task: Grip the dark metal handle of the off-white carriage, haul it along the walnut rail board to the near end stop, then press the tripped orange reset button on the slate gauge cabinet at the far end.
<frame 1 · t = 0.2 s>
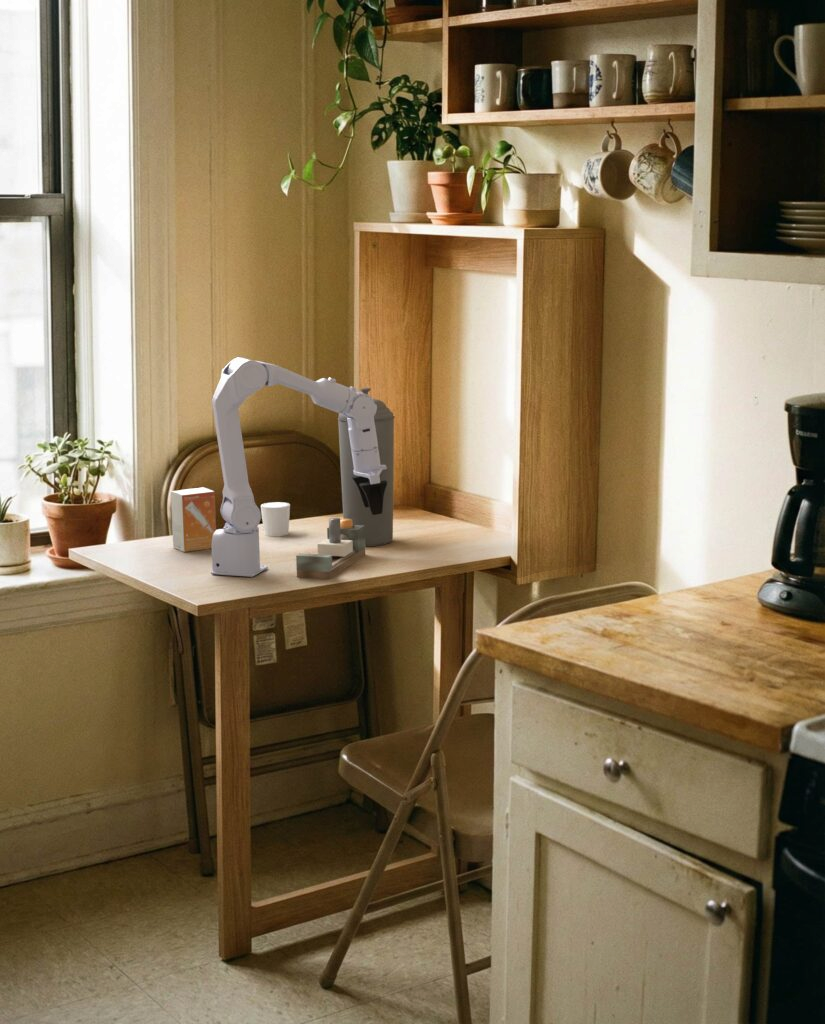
hand: (373, 510, 289), 10 cm above the table, tool pointing down, fingers open, 7 cm apart
reset button: (346, 526, 292), point 6 cm above the table, slide at 0.0 cm
rail base: (332, 565, 285), on the table
small box: (195, 548, 304), on the table
carriage: (334, 536, 286), point 6 cm above the table, slide at 2.0 cm
white tapered cylinder: (276, 534, 317), on the table
canister: (368, 542, 307), on the table
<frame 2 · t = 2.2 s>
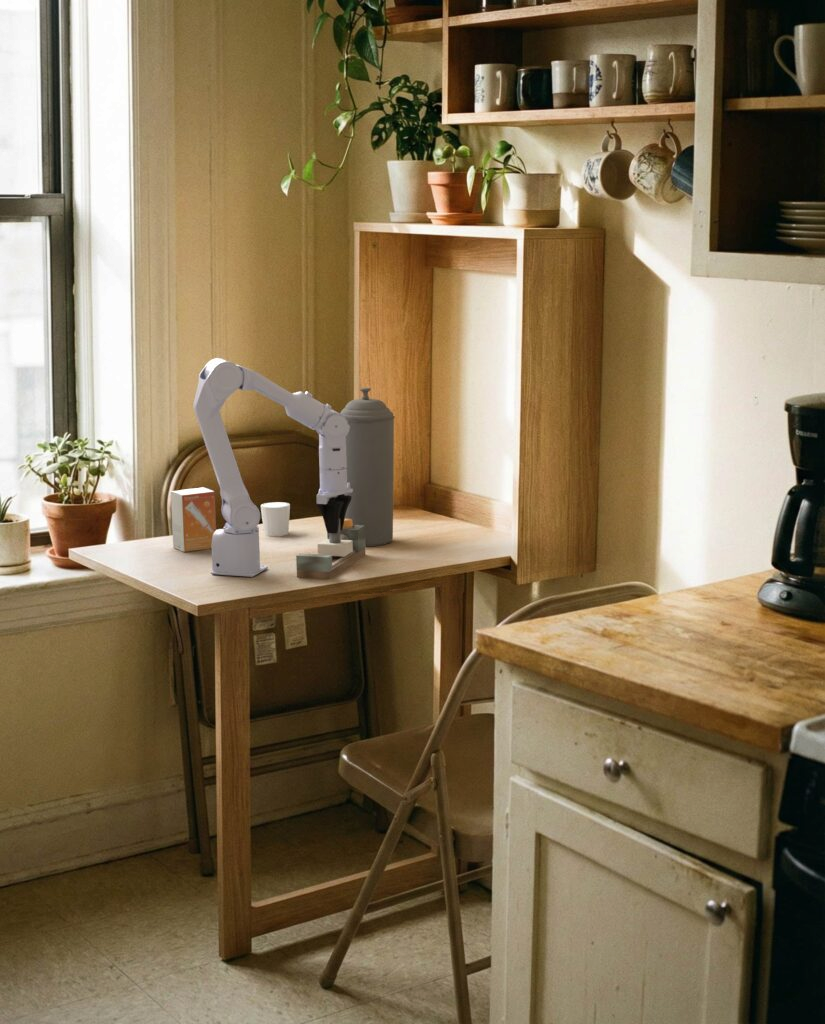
hand: (334, 531, 286), 7 cm above the table, tool pointing down, fingers closed on carriage, 2 cm apart
carriage: (334, 536, 286), point 6 cm above the table, slide at 2.0 cm, touching gripper
everything else where it was.
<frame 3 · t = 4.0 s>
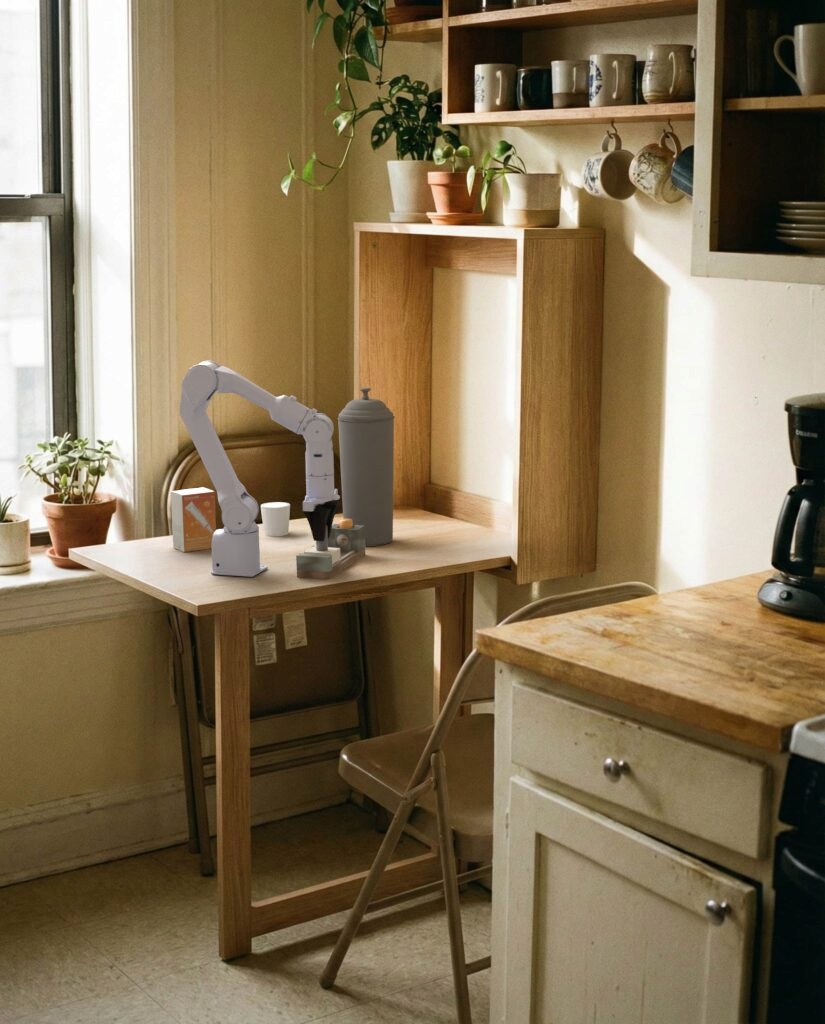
hand: (321, 539, 279), 7 cm above the table, tool pointing down, fingers closed on carriage, 2 cm apart
carriage: (322, 543, 279), point 6 cm above the table, slide at -5.5 cm, touching gripper
everything else where it was.
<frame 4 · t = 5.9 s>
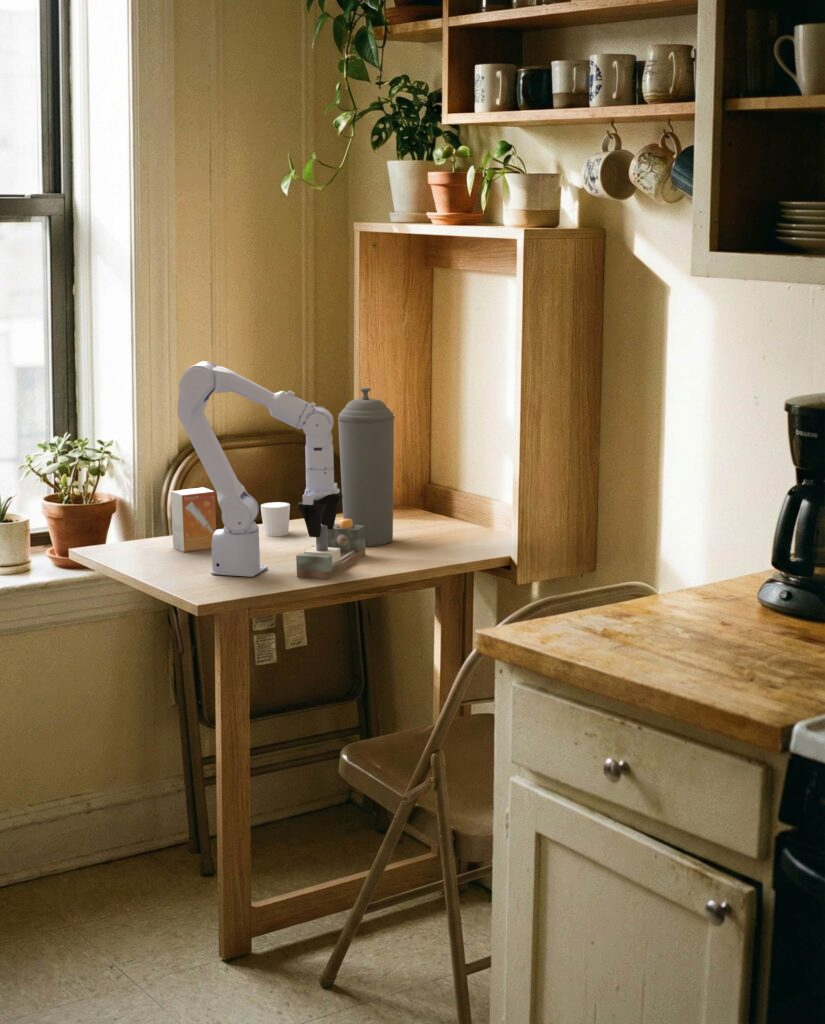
hand: (321, 532, 279), 8 cm above the table, tool pointing down, fingers open, 7 cm apart
carriage: (322, 543, 279), point 6 cm above the table, slide at -5.5 cm
everything else where it was.
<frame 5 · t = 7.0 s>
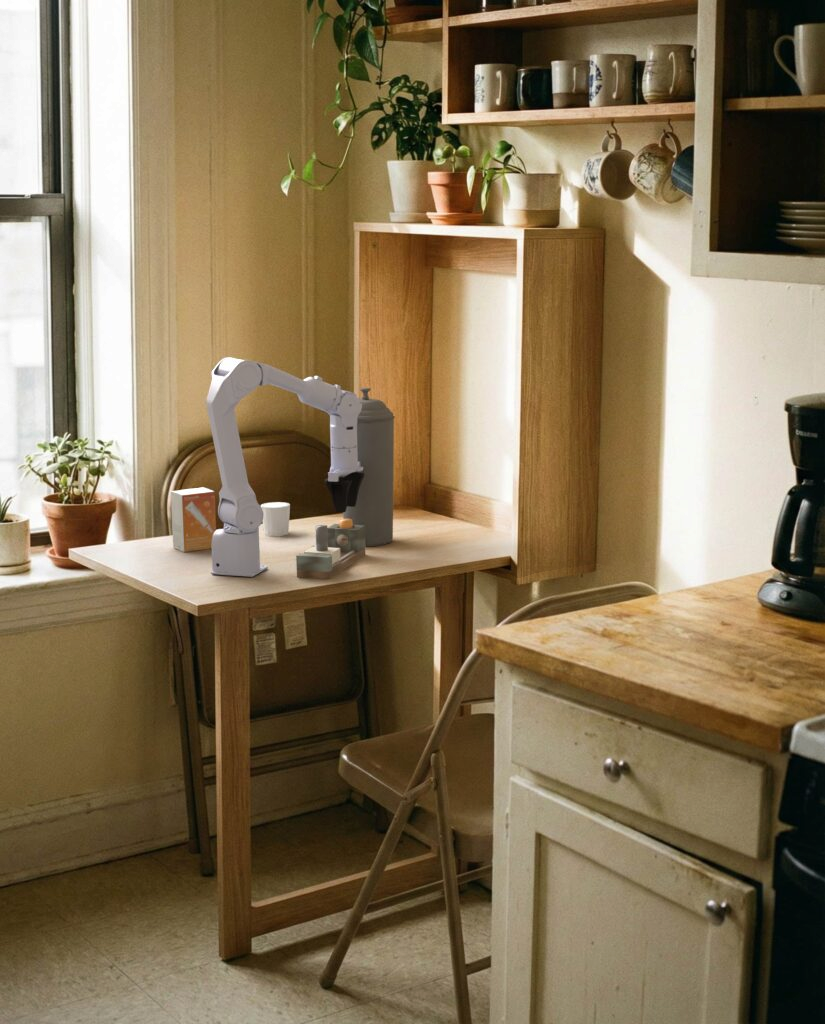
hand: (345, 509, 292), 10 cm above the table, tool pointing down, fingers open, 5 cm apart
nothing on the table moved.
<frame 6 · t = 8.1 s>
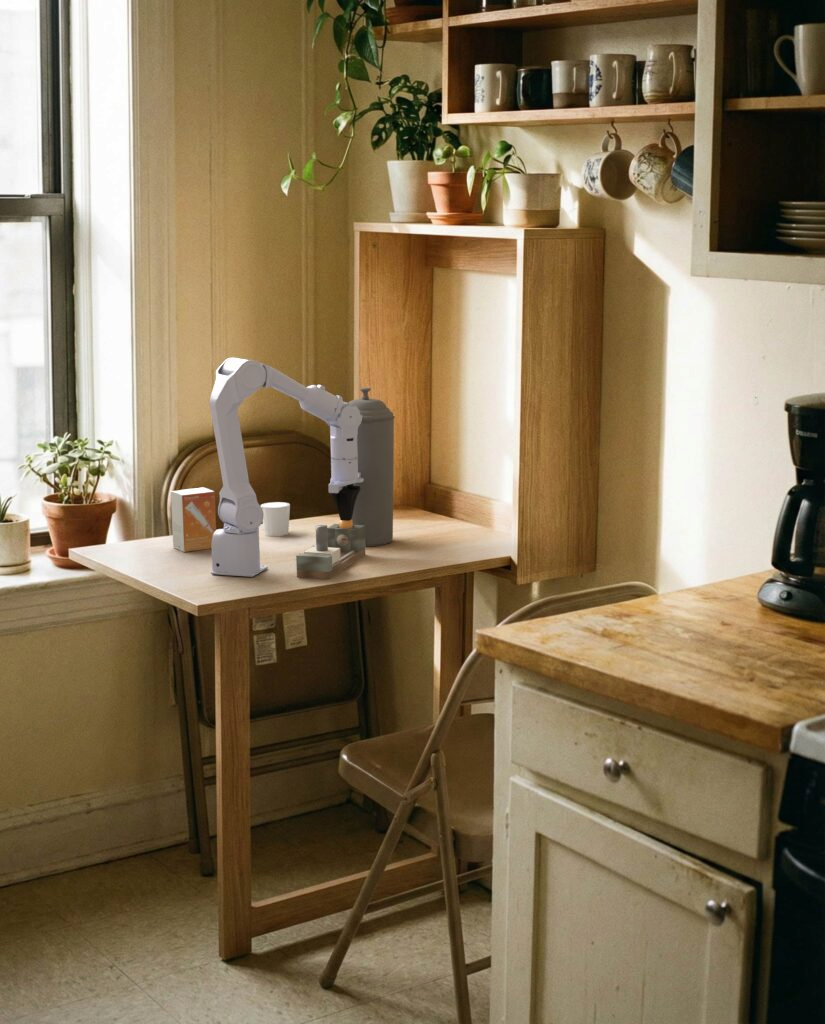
hand: (346, 520, 292), 8 cm above the table, tool pointing down, fingers closed, pressing on reset button
reset button: (346, 526, 292), point 6 cm above the table, slide at 0.0 cm, touching gripper
everything else where it was.
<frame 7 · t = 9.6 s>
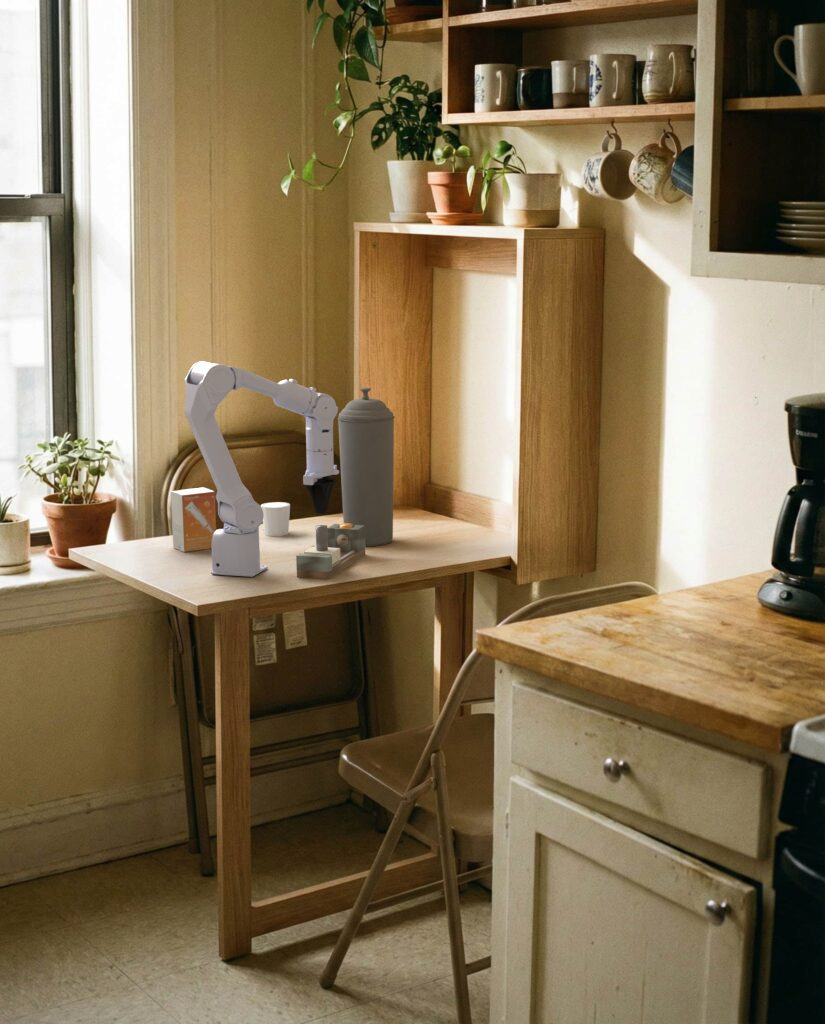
hand: (321, 512, 288), 10 cm above the table, tool pointing down, fingers closed
reset button: (346, 531, 293), point 5 cm above the table, slide at 1.1 cm
everything else where it was.
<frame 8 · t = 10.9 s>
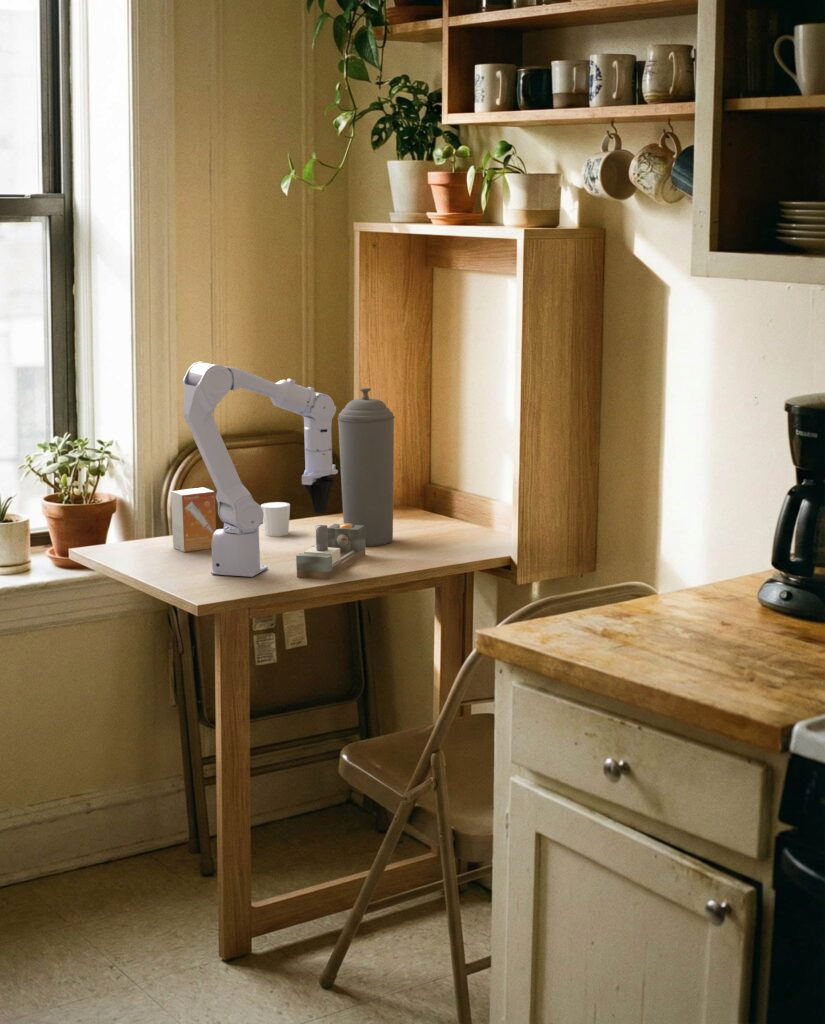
hand: (320, 512, 288), 10 cm above the table, tool pointing down, fingers closed
nothing on the table moved.
at the end: carriage slide at -5.5 cm; reset button slide at 1.1 cm; the gripper is holding nothing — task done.
